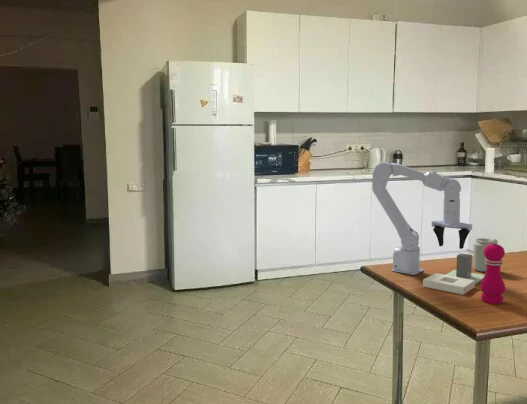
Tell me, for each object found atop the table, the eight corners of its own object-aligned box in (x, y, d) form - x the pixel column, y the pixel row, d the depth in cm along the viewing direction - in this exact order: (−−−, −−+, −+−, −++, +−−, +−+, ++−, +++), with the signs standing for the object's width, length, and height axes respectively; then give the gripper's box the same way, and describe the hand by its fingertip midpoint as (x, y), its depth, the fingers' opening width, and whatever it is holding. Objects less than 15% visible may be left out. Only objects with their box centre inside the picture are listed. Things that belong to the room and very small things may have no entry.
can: (495, 268, 191) (496, 238, 189) (492, 273, 185) (493, 242, 183) (474, 266, 195) (475, 236, 193) (471, 271, 189) (472, 240, 187)
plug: (456, 276, 180) (456, 255, 179) (460, 274, 183) (460, 253, 182) (467, 278, 178) (468, 257, 177) (471, 276, 181) (472, 254, 180)
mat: (441, 278, 181) (441, 276, 181) (454, 270, 189) (454, 269, 189) (474, 284, 172) (474, 283, 172) (486, 276, 181) (486, 275, 181)
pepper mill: (503, 306, 151) (506, 242, 149) (477, 302, 155) (480, 240, 152) (505, 299, 157) (508, 238, 155) (481, 295, 161) (483, 235, 158)
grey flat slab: (422, 286, 172) (423, 279, 172) (435, 279, 179) (435, 273, 179) (463, 294, 162) (463, 287, 162) (474, 287, 170) (474, 280, 169)
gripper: (428, 211, 184) (427, 246, 186) (467, 214, 174) (466, 251, 176) (436, 208, 189) (435, 243, 191) (474, 211, 179) (474, 247, 181)
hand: (451, 247), depth 184 cm, fingers open, 7 cm apart
